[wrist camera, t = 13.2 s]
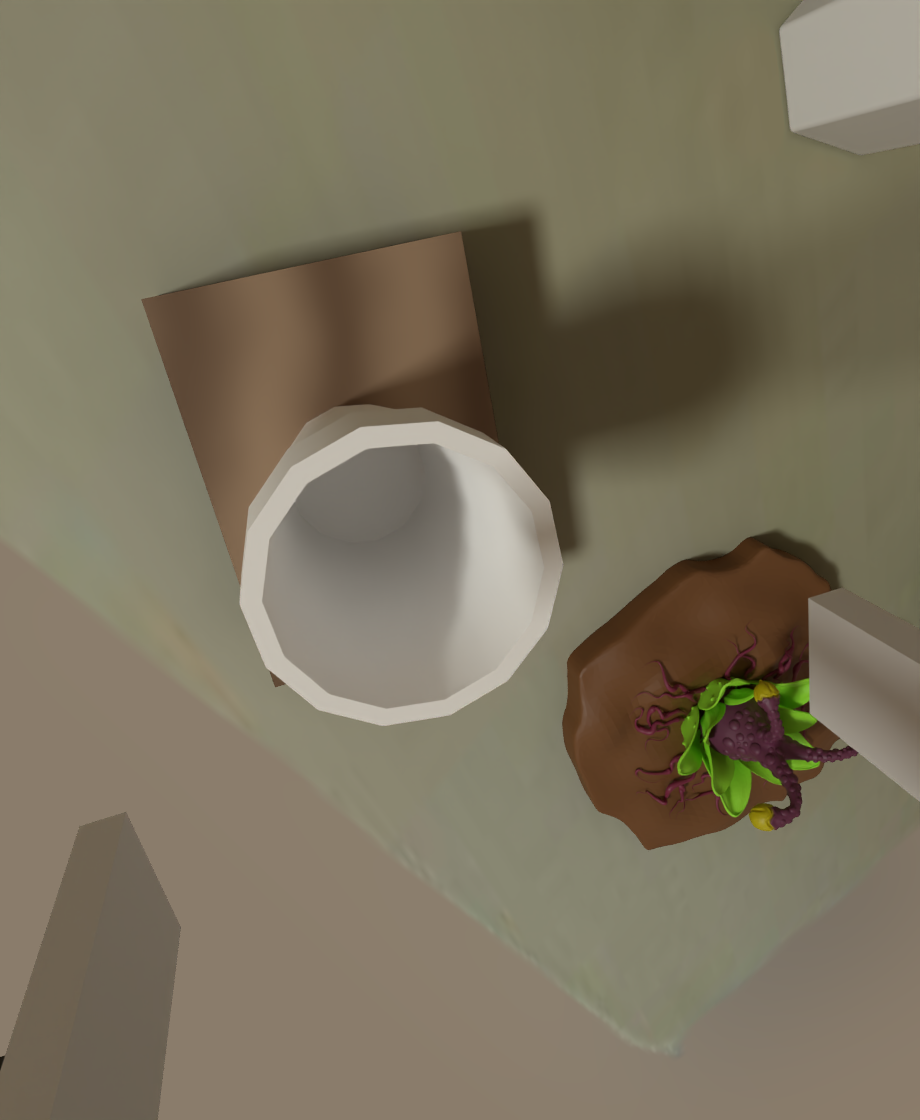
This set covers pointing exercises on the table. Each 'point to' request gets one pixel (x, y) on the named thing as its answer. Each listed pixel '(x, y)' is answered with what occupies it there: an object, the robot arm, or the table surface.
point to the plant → (701, 699)
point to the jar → (854, 73)
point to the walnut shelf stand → (317, 358)
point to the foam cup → (397, 564)
